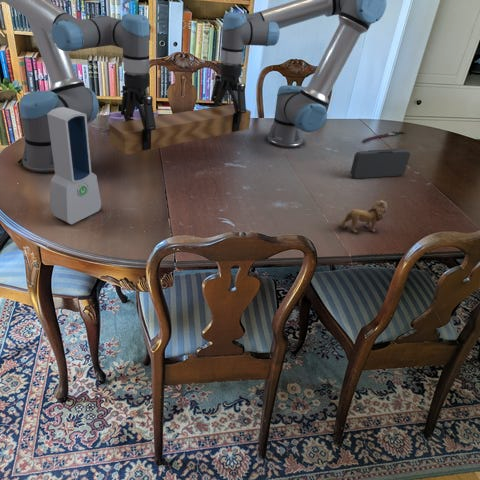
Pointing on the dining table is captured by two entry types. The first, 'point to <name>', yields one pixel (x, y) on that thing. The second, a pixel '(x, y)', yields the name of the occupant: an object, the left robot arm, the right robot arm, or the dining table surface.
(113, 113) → the purple desk organizer
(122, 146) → the wide beam
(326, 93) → the right robot arm
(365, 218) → the lion figurine
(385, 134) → the sword
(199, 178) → the dining table surface
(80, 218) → the electronic device
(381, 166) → the handheld gaming console
